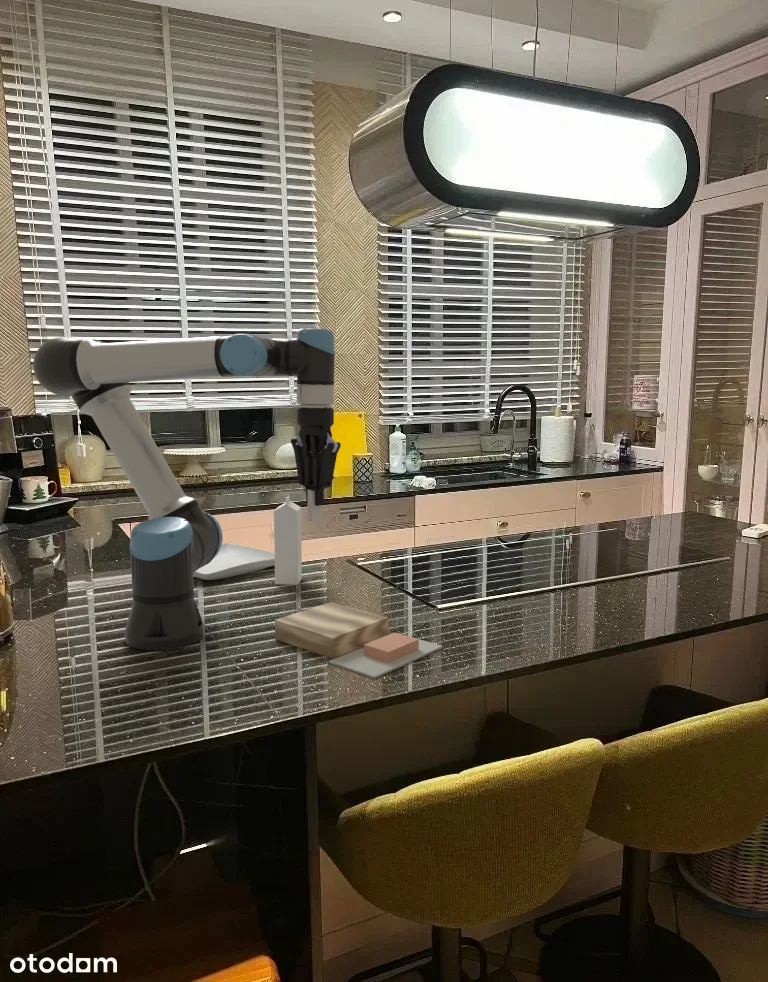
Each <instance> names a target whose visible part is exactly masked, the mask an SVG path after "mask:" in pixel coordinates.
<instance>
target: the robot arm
mask: <svg viewBox="0 0 768 982" xmlns="http://www.w3.org/2000/svg"><path fill="white" fill-rule="evenodd" d="M334 338H335V335H334V332H333V331H332V330H330V329H326V328H312V327H311V328H299V329H297V331H296V336H295V338H273V337H272V338H270V337H269V338H268V337H265V336H264V337H263V336H257V335H253V334H251V333H247V332H246V333H235V334H233V335H226V336H225V335H223V336H208V337H207V336H205V337H189V338H187V337H186V338H170V339H159V340H157V339H156V340H138V341H124V342H123V341H122V342H110V343H109V342H108V343H107V342H104V341H101V340H98V339H91V338H84V339H83V338H82V339H80V338H72V337H63V336H62V337H61V336H60V337H56V338H54V337H53V338H52V339H49V340H47V341H46V342H44V343H43V344H41V345H40V346H39V348H38V349H37V351H36V353H35V354H34V358H33V363H32V364H33V365H32V367H33V373H34V376H35V378H36V380H37V382H38V383H39V384H40V385H41V386H42V387H43V388H44V389H45V390H47V391H48V392H50V393H52V394H55V395H58V396H61V397H71V398H72V399H73V402H74V403H75V405H76V406H77V408H78V410H79V412H80V413H81V414H84V415H87V416H90V417H92V419H93V421H94V423H95V425H96V427H97V428H98V429H99V431H100V433H101V436H102V437H103V439H104V440H105V442H106V443H107V445H108V447H109V448H110V450H111V452H112V454H113V456H114V457H115V459H116V461H117V462H118V464H119V465H120V467H121V469H122V471H123V473H124V475H125V476H126V477H127V479H128V482H130V483H129V484H130V485H131V487H132V488H133V490H134V492H135V493H136V495H137V497H138V499H139V500H140V501H141V504H142V505H143V507H144V509H145V510H146V512H147V514H148V518H147V520H144V521H141V522H139V523H137V524H135V526H134V527H133V528H132V529H131V532H130V537H129V539H130V541H129V545H128V546H129V548H128V549H129V551H130V552H129V553H130V570H131V571H130V572H131V573H130V574H131V587H132V589H131V591H132V605H131V609H130V612H129V615H128V619H127V622H126V626H125V630H124V639H125V640H124V641H125V644H126V645H127V646H128V647H131V648H133V649H136V650H140V651H141V650H142V651H169V650H175V649H182V648H185V647H188V646H190V645H193V644H196V643H198V642H199V641H201V640H202V639H203V638H204V636H205V626H204V625H205V624H204V621H203V618H202V616H201V613H200V610H199V608H198V606H197V603H196V601H195V593H194V591H195V589H194V587H195V586H194V577H193V572H195V571H196V570H198V569H199V568H201V567H203V566H205V565H207V564H209V563H210V562H211V561H212V560H213V558H214V557H215V556H216V555H217V554H218V552H219V550H220V548H221V545H222V544H223V530H222V528H221V524H220V523H219V521H218V520H217V519H216V518H215V517H214V516H213V515H211V514H210V513H208V512H205V511H204V510H203V509H202V507H201V505H200V504H199V502H198V500H197V499H196V498H194V497H192V496H188V495H186V493H185V492H184V490H183V488H182V487H181V485H180V483H179V481H178V480H177V478H176V477H175V475H174V473H173V471H172V469H171V468H170V466H169V464H168V462H167V461H166V459H165V458H164V455H163V454H162V452H161V450H160V448H159V447H158V446H157V444H156V442H155V440H154V438H153V437H152V434H151V433H150V431H149V430H148V427H147V426H146V424H145V423H144V422H143V419H142V417H141V415H140V414H139V412H138V410H137V409H136V406H135V405H134V404H133V402H132V400H131V398H130V395H131V392H132V390H133V389H132V388H133V387H132V385H131V383H137V382H139V383H140V382H141V383H142V382H154V381H155V382H156V381H173V380H174V381H175V380H188V379H208V378H209V379H210V378H222V377H223V378H224V377H226V378H229V377H296V404H297V405H299V407H297V409H296V424H297V425H298V426H300V428H299V431H298V436H297V437H296V438H291V439H290V443H291V446H292V448H293V453H294V459H295V465H296V472H297V478H298V483H299V485H300V486H303V487H304V489H305V491H306V492H305V494H306V495H305V496H306V498H305V502H306V505H307V521H308V522H312V523H313V522H314V523H315V522H319V521H323V506H324V503H325V498H324V497H325V495H324V493H325V489H328V488H331V487H332V484H333V478H334V473H335V468H336V463H337V456H338V452H339V450H340V449H341V447H342V446H341V443H340V442H339V441H337V442H336V441H335V439H333V434H332V430H331V428H332V427H333V425H334V423H335V421H334V419H335V409H334V408H333V407H332V406H333V405H334V404H335V359H336V358H335V356H336V351H335V339H334Z"/></svg>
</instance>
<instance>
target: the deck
mask: <svg viewBox="0 0 768 982" xmlns="http://www.w3.org/2000/svg"><path fill="white" fill-rule="evenodd" d="M387 635H389V617H387V616H384V615H381V614H378V613H374V612H369V611H365V610H362V609H359V608H354V607H351V606H347V605H343V604H341V603H337V602H333V601H330V602H327V603H325V604H324V603H323V604H321V605H318V606H315V607H312V608H309V609H308V608H307V609H305V610H301V611H299V612H296V613H292V614H289V615H286V616H283V617H280V618H277V619H274V639H275V640H277V641H280V642H283V643H286V644H289V645H291V646H294V647H297V648H299V649H304V650H306V651H309V652H312V653H315V654H317V655H321V656H324V657H327V658H330V659H331V660H333V659H335V658H338V657H340V656H343V655H345V654H348V653H350V652H353V651H355V650H358V649H360V648H363V647H364V644H367V643H369V642H372V641H374V640H377V639H379V638H382V637H384V636H387Z"/></svg>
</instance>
